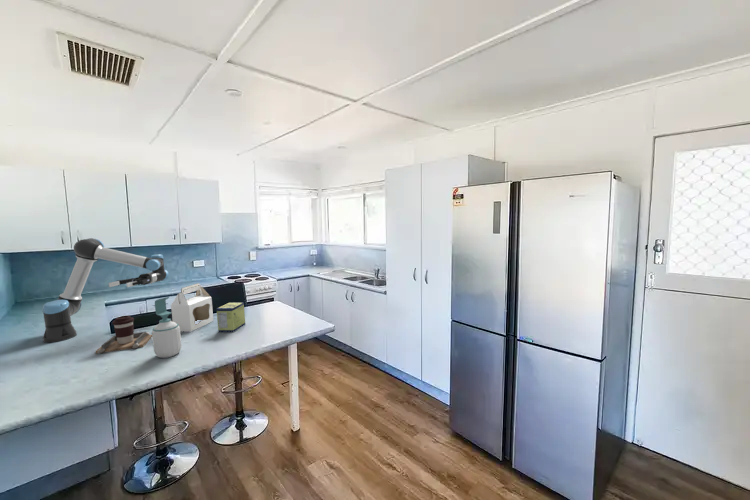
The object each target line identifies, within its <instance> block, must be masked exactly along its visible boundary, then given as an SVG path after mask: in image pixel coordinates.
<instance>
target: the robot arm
mask: <svg viewBox="0 0 750 500" xmlns="http://www.w3.org/2000/svg"><path fill="white" fill-rule="evenodd" d="M73 252H74V253H75V257H76V262H75V263H74V266H73V269H72V272H71V274H70V276H69V278H68V281H67V284H66V286H65V288H64V290H63V293H60V294H59V295H58V298H57V299H56V300H55V299H54V300H52V301H48V302H45V303H43V306H42V313H43V319H44V320H43V321H44V327H45V329H44V333H43V335H42V341H43V342H44V343H55V342H57V343H58V342H60V341H66V340H69V339H71V338H74V337H77V335H78V334H77V330H76V328H75V327H74V326H73V323H72V318H71V316H73V315H75V314H77V313H78V312H79V311H80V310H81V308H82V300H83V296H82V293H83V290H84V287H85V285H86V283H87V280H88V279H89V278H88V277H89V276H90V273H91V270H92V267H93V265H94V263H95V262H98V260H105V261H109V262H115V263H118V264H123V265H129V266H134V267H137V268H143V269H147V270H149V271H151V272H147V273H142V274H140V275H139V276H138V277H135V278H134V277H131V278H126V279H125V278H124V279H119V280H116V281H112V282H108V288H113V287H117V286H118V287H119V286H120V285H126V288H130V287H135V286H140V285H142V286H145V285H149V284H151V285H153V283H158V282H163V281H165V280H167V279H169V275H170V273H169V271H168V270H166V269H165V262H164V259H165V258H164V255H163V254H160V253H159V254H151V255H150V257H147V256H144V255H139V254H134V253H131V252H126V251H121V250H117V249H113V248H108V247H105V246H104V243H103V242H102V241H101V240H99V239H96V238H92V237H91V238H86V239H84V238H83V239H79V240H78V241H76V242H75V243H74V245H73Z"/></svg>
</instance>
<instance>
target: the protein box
mask: <svg viewBox="0 0 750 500" xmlns="http://www.w3.org/2000/svg"><path fill="white" fill-rule="evenodd" d="M216 317H217V319H216V320H217V329H218V331H217V332H218V333H235V332H236V331H238V330H239V329H241V328H242V327H244V326H246V315H245V303H244V302H241V301H240V302H235V301H233V302H228V303H226V304H224V305H221V306H219V307H216Z"/></svg>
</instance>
